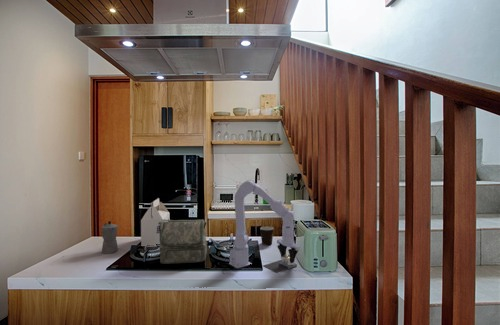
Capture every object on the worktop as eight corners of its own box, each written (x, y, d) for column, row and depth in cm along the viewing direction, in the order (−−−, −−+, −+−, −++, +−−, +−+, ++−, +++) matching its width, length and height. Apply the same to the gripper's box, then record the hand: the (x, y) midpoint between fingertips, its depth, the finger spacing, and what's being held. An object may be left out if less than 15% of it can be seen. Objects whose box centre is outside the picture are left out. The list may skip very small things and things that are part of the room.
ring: (287, 266, 140) (287, 259, 140) (280, 262, 144) (280, 255, 144) (295, 263, 143) (295, 256, 143) (288, 260, 148) (288, 253, 147)
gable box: (150, 237, 194) (149, 197, 194) (169, 237, 196) (169, 197, 195) (141, 248, 172) (140, 202, 172) (163, 247, 174) (162, 202, 173)
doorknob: (287, 269, 139) (287, 260, 139) (278, 265, 144) (278, 256, 144) (296, 266, 143) (297, 257, 143) (287, 262, 148) (287, 253, 148)
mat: (276, 273, 135) (276, 273, 135) (262, 266, 144) (262, 265, 144) (296, 266, 143) (296, 266, 143) (281, 260, 152) (281, 259, 152)
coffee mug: (268, 246, 175) (268, 230, 174) (257, 244, 180) (257, 228, 179) (278, 242, 184) (278, 227, 184) (267, 239, 189) (267, 225, 189)
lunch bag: (154, 265, 145) (154, 223, 144) (163, 253, 163) (162, 216, 162) (205, 264, 147) (205, 222, 146) (208, 252, 165) (208, 215, 164)
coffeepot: (122, 252, 165) (121, 221, 164) (104, 256, 158) (104, 224, 158) (113, 246, 176) (112, 217, 176) (96, 249, 169) (96, 220, 169)
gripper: (304, 236, 140) (303, 263, 140) (283, 229, 151) (283, 254, 152) (294, 238, 136) (294, 266, 136) (273, 232, 147) (273, 257, 147)
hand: (287, 260), depth 144 cm, fingers closed on ring, 6 cm apart
